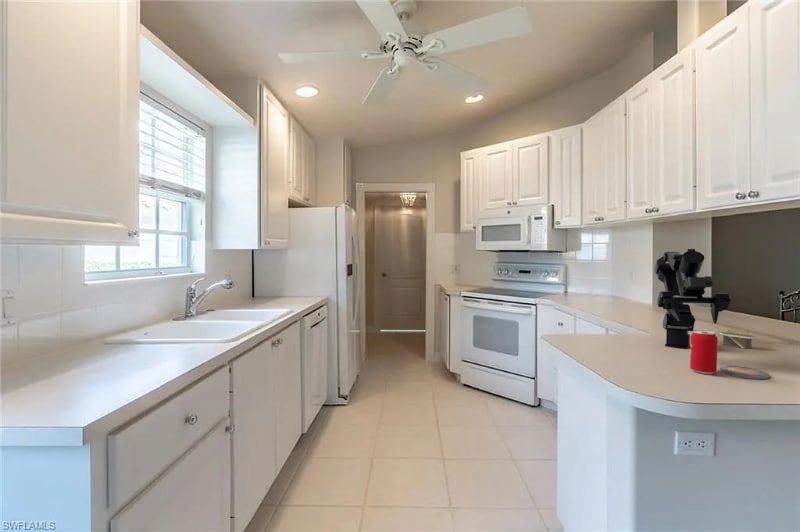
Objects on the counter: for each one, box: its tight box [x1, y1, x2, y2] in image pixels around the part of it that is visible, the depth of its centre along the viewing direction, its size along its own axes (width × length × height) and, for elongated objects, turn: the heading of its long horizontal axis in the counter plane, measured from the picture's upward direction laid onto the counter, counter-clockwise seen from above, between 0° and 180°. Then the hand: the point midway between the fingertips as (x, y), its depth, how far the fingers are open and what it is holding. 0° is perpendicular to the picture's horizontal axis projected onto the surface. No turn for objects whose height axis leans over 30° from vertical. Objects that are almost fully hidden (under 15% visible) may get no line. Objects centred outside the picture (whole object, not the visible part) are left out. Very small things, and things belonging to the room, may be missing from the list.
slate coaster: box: [718, 364, 770, 380], centre depth 114 cm, size 11×11×1 cm
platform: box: [719, 328, 757, 349], centre depth 143 cm, size 12×18×7 cm, turn 41°
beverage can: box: [689, 329, 718, 375], centre depth 115 cm, size 6×6×12 cm
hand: (697, 321), depth 122 cm, fingers open, 9 cm apart
